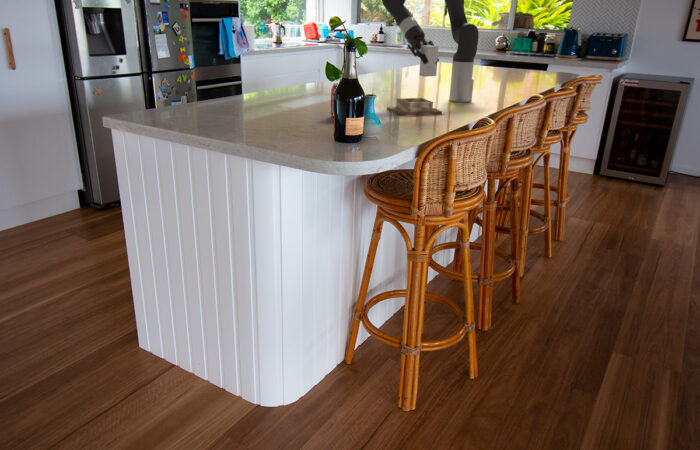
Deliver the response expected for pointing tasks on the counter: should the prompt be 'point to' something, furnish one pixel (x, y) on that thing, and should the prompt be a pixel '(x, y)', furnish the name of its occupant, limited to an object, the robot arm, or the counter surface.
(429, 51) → the skincare box
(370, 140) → the counter surface
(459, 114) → the counter surface
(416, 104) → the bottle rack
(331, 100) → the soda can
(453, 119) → the counter surface
